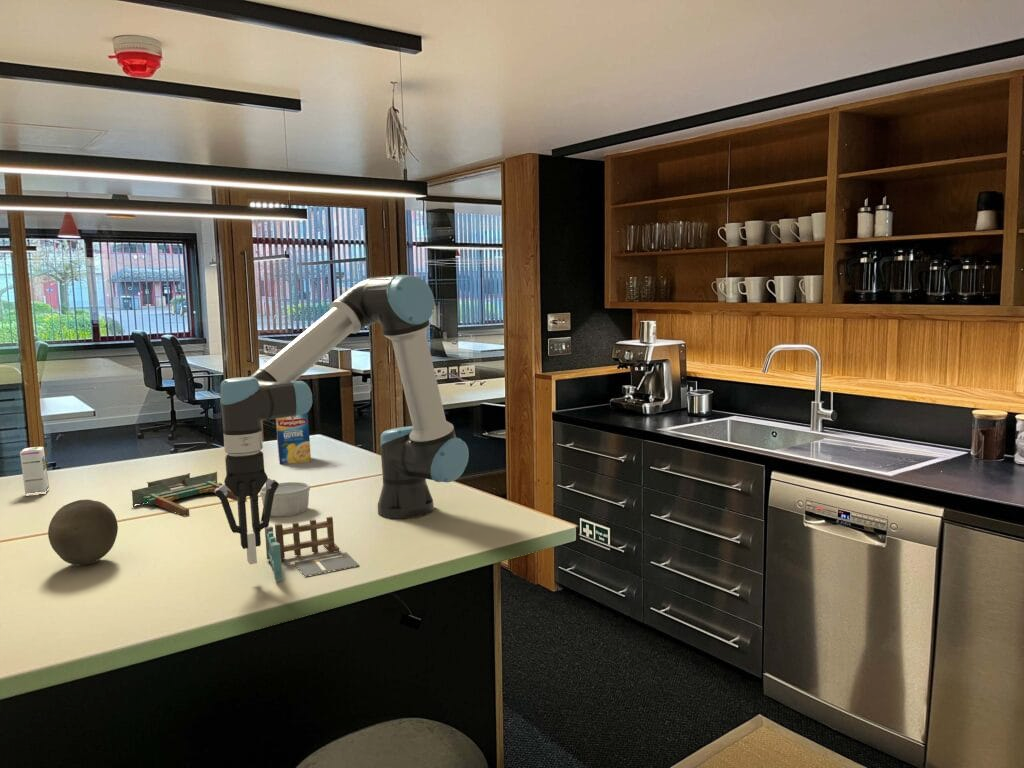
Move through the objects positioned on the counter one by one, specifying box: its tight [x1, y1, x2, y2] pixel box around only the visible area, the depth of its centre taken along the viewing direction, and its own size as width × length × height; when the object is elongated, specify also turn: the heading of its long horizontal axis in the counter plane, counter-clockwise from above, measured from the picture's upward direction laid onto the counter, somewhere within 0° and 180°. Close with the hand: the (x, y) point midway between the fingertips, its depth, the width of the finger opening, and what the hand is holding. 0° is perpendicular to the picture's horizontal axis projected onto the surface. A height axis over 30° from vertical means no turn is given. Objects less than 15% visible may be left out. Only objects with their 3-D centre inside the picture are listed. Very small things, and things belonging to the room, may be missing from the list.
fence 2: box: [274, 516, 340, 560], centre depth 182 cm, size 14×5×8 cm, turn 118°
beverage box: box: [275, 411, 312, 465], centre depth 282 cm, size 7×11×22 cm, turn 110°
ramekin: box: [259, 481, 311, 518], centre depth 218 cm, size 13×13×7 cm
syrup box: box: [19, 446, 50, 494], centre depth 247 cm, size 6×6×14 cm
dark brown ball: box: [47, 499, 119, 566], centre depth 179 cm, size 14×14×15 cm
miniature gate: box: [130, 471, 247, 516], centre depth 234 cm, size 27×6×30 cm
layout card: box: [293, 551, 360, 577], centre depth 175 cm, size 12×10×1 cm
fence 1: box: [264, 525, 283, 582], centre depth 172 cm, size 16×2×8 cm, turn 23°
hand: (252, 561), depth 166 cm, fingers closed
